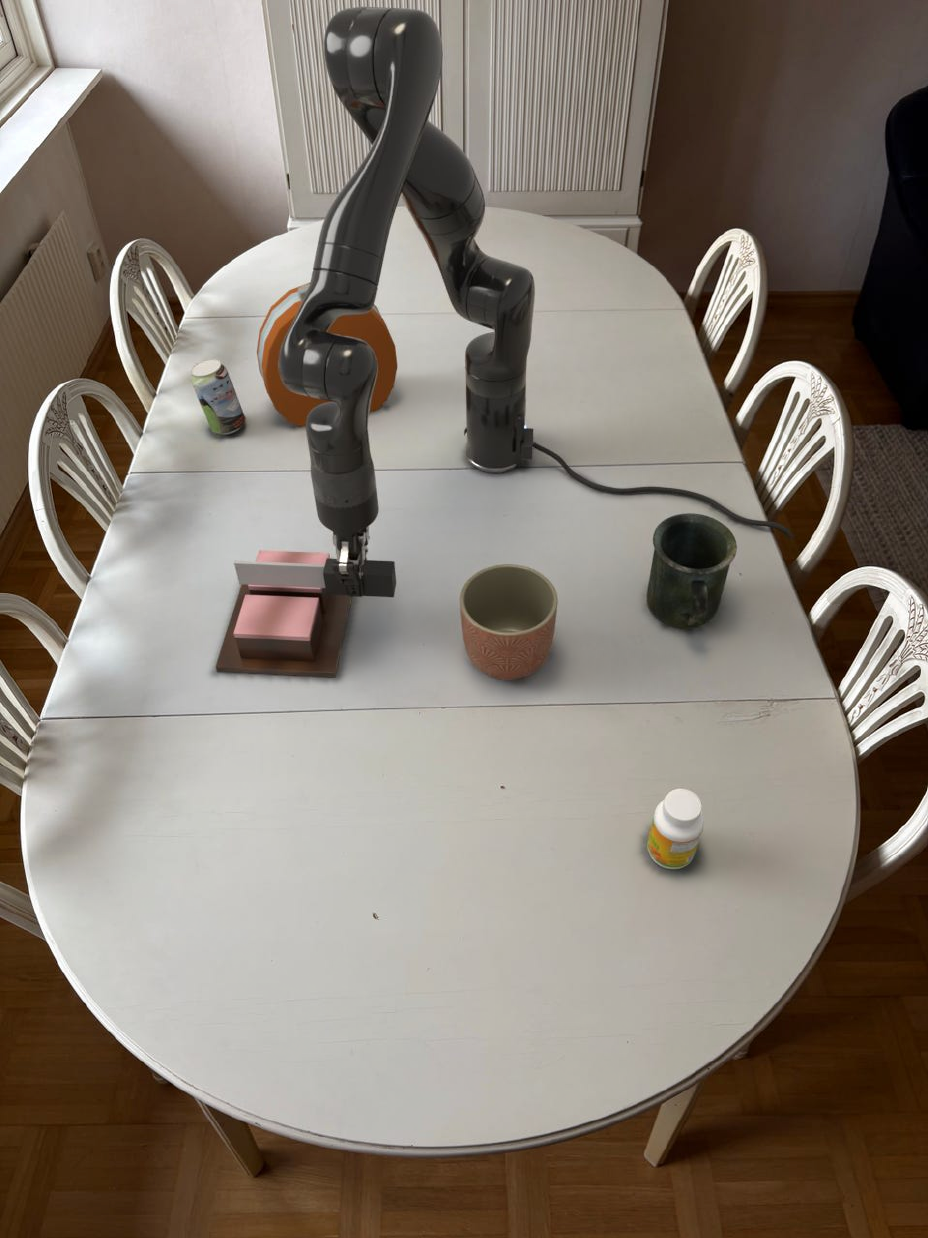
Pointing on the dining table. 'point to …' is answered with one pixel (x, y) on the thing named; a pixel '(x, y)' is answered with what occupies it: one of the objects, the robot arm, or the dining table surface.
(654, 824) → the supplement bottle
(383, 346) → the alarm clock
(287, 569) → the knife
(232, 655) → the cake
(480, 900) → the dining table surface
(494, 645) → the planter
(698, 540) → the mug
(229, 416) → the beverage can
